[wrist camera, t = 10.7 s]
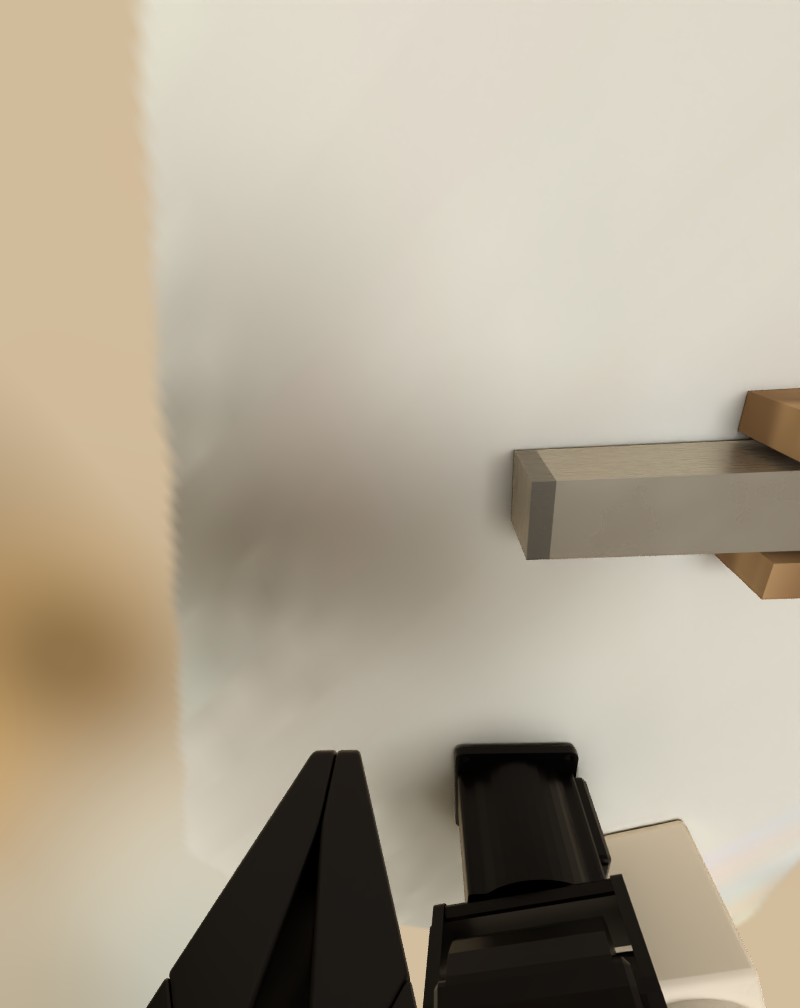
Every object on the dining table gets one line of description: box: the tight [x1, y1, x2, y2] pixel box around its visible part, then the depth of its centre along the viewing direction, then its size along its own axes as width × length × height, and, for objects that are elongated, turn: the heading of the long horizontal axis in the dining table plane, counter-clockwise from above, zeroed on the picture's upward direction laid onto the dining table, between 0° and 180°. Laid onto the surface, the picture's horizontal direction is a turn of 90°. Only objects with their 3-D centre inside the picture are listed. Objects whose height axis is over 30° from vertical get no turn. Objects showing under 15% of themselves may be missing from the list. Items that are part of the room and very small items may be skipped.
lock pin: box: [511, 440, 800, 560], centre depth 17 cm, size 13×3×3 cm, turn 93°
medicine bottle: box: [604, 821, 766, 1008], centre depth 25 cm, size 7×7×12 cm
